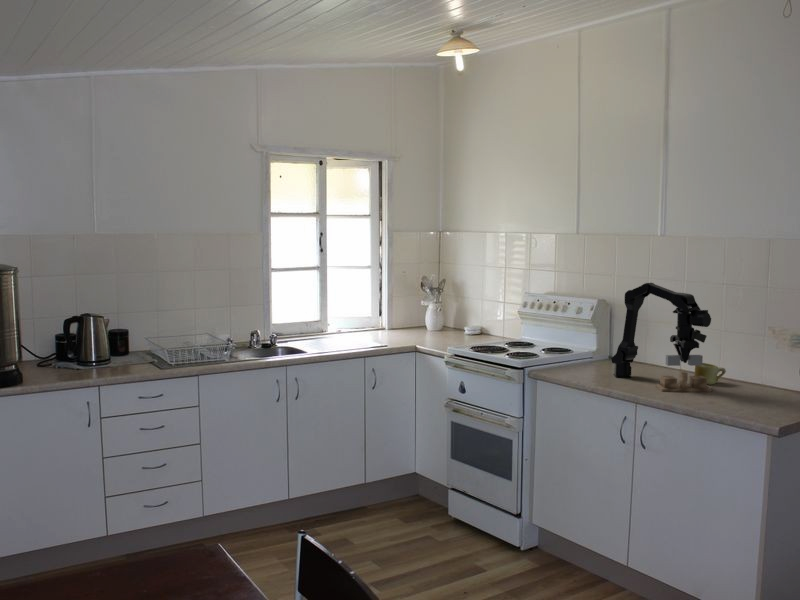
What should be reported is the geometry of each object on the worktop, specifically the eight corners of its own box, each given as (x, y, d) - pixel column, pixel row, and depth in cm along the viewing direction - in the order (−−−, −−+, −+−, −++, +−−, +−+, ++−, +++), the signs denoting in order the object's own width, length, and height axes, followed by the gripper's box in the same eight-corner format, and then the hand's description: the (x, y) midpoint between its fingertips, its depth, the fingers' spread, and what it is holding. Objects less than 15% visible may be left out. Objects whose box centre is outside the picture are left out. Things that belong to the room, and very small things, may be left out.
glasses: (667, 365, 311) (667, 356, 311) (665, 364, 314) (665, 354, 314) (702, 365, 311) (702, 355, 310) (699, 364, 314) (700, 354, 313)
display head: (661, 391, 309) (662, 374, 309) (655, 386, 318) (655, 370, 318) (711, 391, 308) (712, 374, 308) (703, 386, 317) (704, 370, 317)
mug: (689, 379, 322) (696, 357, 323) (691, 382, 331) (698, 361, 332) (719, 388, 316) (726, 365, 317) (721, 391, 325) (727, 369, 326)
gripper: (712, 327, 301) (711, 366, 303) (696, 321, 320) (696, 358, 321) (684, 327, 302) (683, 366, 303) (670, 321, 320) (669, 358, 322)
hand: (683, 362), depth 312 cm, fingers closed on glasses, 3 cm apart
